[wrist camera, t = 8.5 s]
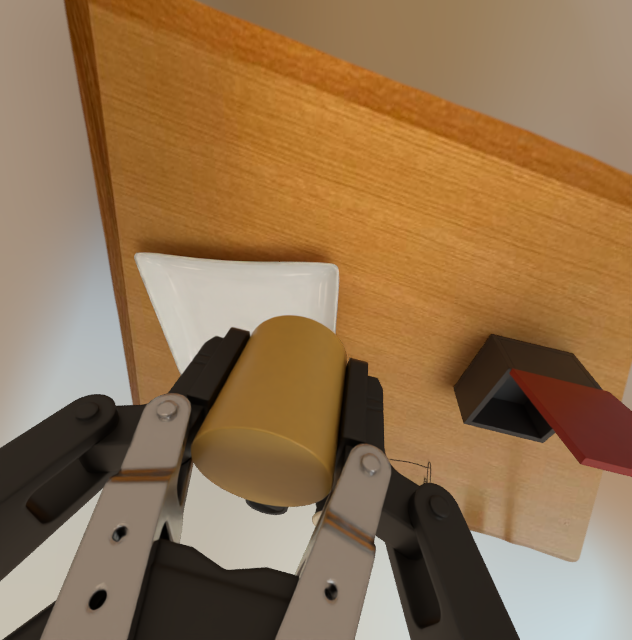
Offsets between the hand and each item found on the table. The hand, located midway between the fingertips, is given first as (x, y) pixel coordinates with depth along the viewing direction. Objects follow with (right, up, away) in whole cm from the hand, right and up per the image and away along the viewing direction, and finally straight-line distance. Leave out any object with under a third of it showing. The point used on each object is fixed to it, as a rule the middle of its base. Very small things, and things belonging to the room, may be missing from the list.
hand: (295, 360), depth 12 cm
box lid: (+29, -9, +17) cm, 35 cm away
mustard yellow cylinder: (0, 0, 0) cm, 0 cm away
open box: (+30, -6, +32) cm, 44 cm away
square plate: (-9, +1, +35) cm, 36 cm away
